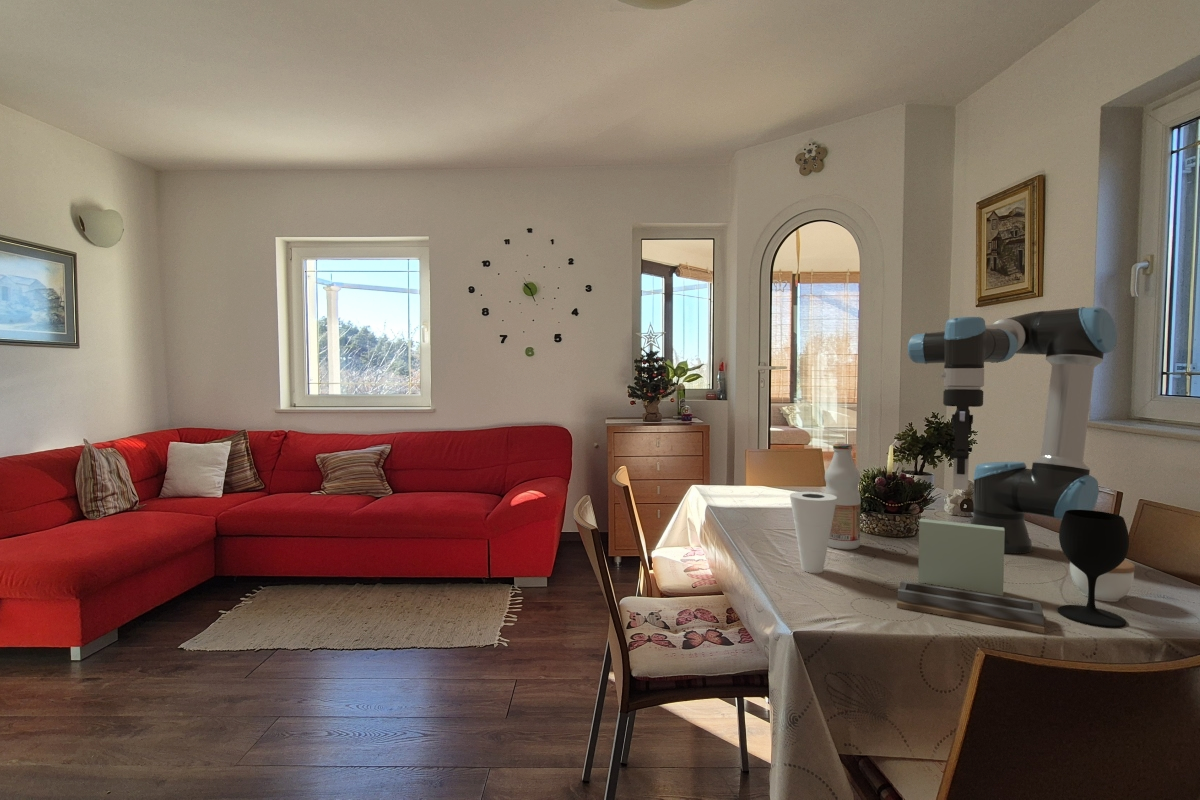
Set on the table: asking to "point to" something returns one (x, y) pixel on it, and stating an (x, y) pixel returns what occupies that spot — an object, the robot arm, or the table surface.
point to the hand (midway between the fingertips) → (960, 484)
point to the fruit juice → (844, 498)
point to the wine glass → (1093, 558)
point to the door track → (972, 606)
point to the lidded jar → (1106, 582)
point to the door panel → (961, 556)
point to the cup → (813, 527)
